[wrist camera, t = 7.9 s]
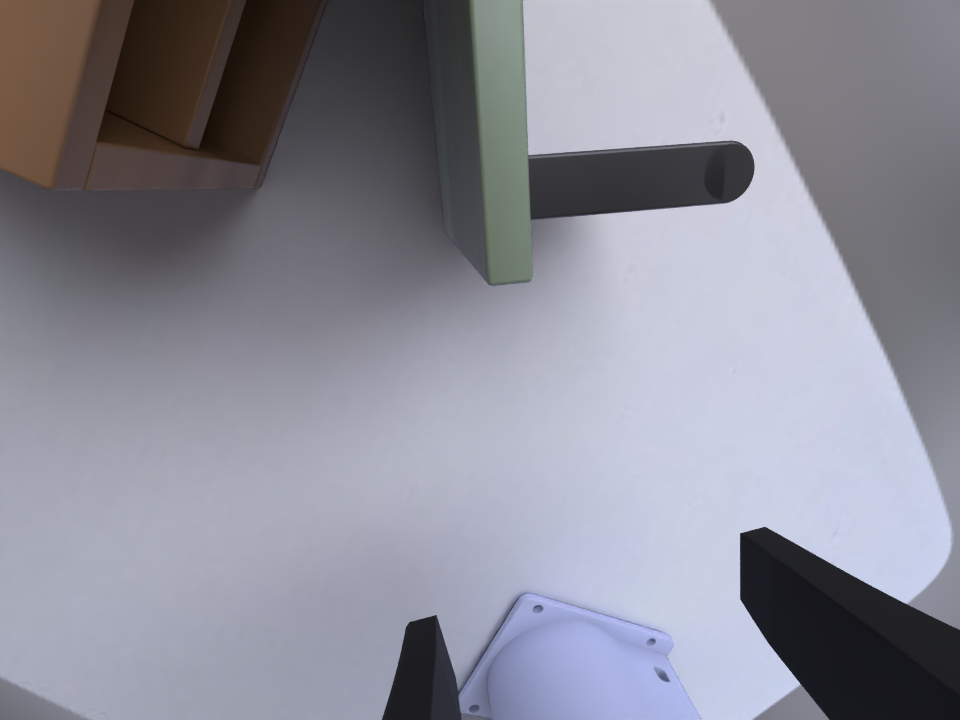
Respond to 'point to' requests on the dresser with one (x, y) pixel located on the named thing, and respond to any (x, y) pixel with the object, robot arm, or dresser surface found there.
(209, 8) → the cupboard
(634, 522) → the dresser surface
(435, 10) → the door
